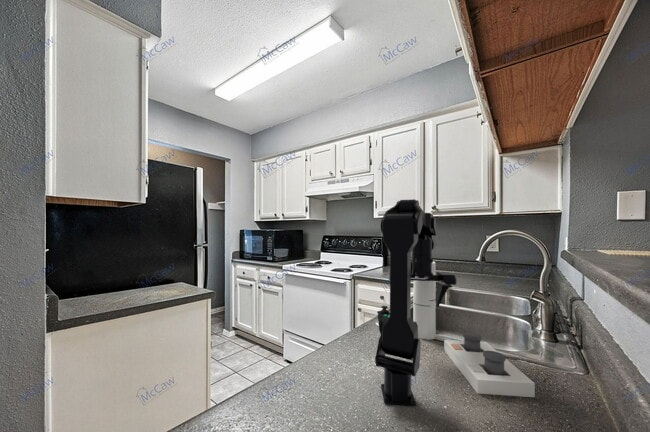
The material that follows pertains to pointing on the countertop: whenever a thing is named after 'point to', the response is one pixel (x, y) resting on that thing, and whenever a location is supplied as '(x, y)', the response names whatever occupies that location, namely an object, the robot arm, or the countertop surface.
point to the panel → (479, 379)
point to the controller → (383, 317)
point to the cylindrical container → (425, 307)
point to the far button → (472, 342)
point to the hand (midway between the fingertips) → (421, 306)
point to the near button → (494, 363)
